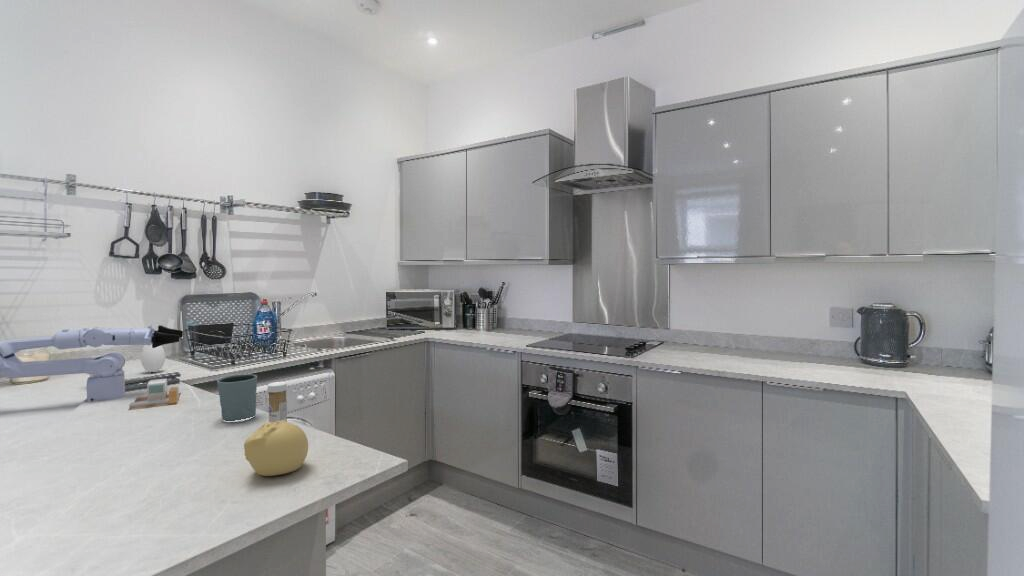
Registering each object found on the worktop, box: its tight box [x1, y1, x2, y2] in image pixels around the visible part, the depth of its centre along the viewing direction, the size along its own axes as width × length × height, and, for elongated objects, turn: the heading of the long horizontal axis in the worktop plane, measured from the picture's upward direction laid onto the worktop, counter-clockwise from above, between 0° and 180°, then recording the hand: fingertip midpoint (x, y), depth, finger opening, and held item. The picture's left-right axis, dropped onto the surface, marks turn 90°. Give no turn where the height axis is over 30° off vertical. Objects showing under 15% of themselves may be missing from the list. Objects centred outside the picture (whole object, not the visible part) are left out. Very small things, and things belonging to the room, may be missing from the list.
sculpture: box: [243, 420, 309, 477], centre depth 103 cm, size 11×12×11 cm
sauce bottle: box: [140, 344, 166, 373], centre depth 200 cm, size 8×8×18 cm
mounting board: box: [128, 392, 182, 411], centre depth 152 cm, size 12×16×2 cm
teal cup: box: [216, 373, 258, 421], centre depth 139 cm, size 10×10×12 cm
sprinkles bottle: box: [267, 381, 288, 423], centre depth 126 cm, size 5×5×14 cm
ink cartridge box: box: [88, 345, 124, 377], centre depth 178 cm, size 9×5×15 cm, turn 168°
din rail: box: [128, 386, 180, 409], centre depth 149 cm, size 12×6×4 cm, turn 121°
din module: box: [146, 378, 169, 400], centre depth 155 cm, size 4×7×6 cm, turn 31°
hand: (181, 336), depth 165 cm, fingers open, 7 cm apart
